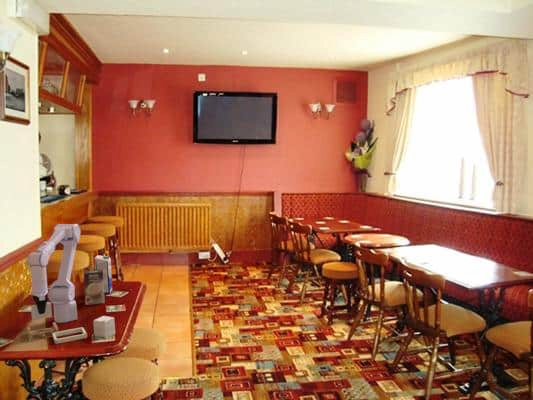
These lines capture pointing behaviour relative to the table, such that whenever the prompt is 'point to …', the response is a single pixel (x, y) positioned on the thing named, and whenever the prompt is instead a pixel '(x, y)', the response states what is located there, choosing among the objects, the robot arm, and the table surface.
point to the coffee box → (94, 287)
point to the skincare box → (104, 326)
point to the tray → (71, 338)
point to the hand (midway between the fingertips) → (41, 312)
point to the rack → (41, 331)
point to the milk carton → (105, 271)
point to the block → (40, 316)
